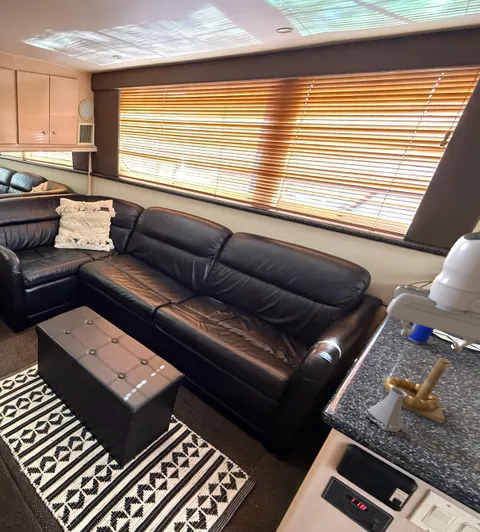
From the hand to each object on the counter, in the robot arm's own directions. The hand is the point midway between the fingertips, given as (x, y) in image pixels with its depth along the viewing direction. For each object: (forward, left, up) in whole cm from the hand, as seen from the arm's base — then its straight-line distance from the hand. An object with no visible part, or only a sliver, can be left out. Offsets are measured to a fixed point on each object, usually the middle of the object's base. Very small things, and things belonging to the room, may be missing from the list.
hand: (428, 342), depth 84 cm
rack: (-4, 0, -19) cm, 19 cm away
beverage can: (-8, -46, -19) cm, 50 cm away
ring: (-2, 0, -16) cm, 16 cm away
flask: (+4, +15, -19) cm, 25 cm away
